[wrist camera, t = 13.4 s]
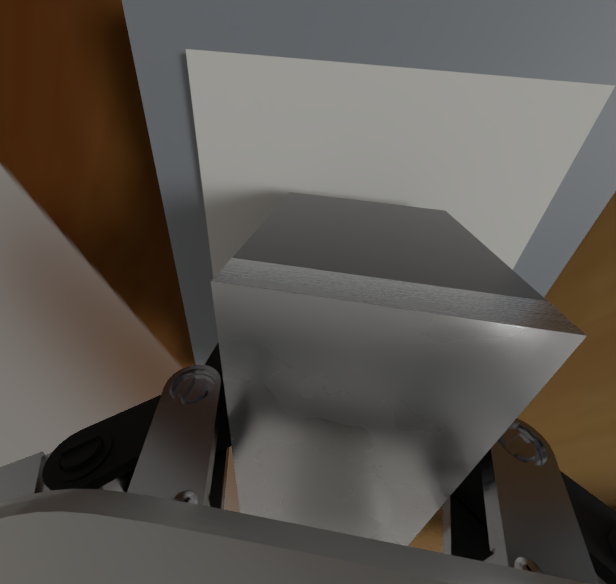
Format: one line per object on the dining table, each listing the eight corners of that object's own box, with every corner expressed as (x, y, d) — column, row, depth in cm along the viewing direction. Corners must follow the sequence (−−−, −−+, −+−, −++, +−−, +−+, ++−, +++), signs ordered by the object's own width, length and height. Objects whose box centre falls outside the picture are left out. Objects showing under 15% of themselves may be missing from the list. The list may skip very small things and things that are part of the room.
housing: (445, 210, 8) (587, 335, 3) (380, 392, 13) (399, 555, 8) (290, 192, 9) (210, 281, 4) (281, 375, 14) (241, 523, 9)
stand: (430, 396, 20) (447, 450, 17) (224, 362, 21) (200, 407, 18) (620, 33, 9) (774, -20, 6) (180, 0, 10) (99, -60, 7)
